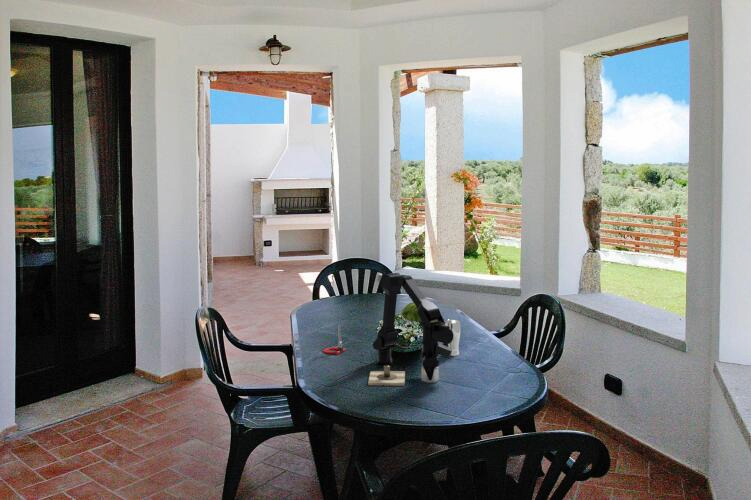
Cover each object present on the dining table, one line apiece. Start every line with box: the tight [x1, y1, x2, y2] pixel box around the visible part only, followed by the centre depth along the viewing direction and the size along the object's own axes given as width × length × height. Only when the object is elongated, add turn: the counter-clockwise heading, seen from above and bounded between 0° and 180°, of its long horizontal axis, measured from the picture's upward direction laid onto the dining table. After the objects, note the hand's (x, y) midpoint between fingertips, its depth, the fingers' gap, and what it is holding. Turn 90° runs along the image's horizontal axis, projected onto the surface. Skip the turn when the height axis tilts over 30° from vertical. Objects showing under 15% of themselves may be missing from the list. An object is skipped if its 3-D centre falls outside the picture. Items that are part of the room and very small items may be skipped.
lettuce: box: [399, 301, 438, 323], centre depth 305 cm, size 18×23×19 cm
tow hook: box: [323, 324, 347, 355], centre depth 278 cm, size 8×13×9 cm
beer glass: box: [444, 319, 461, 357], centre depth 272 cm, size 7×7×15 cm
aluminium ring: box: [420, 365, 440, 384], centre depth 239 cm, size 7×7×5 cm
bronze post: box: [383, 364, 391, 378], centre depth 240 cm, size 2×2×4 cm
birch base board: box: [367, 370, 406, 387], centre depth 241 cm, size 14×14×1 cm
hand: (430, 377), depth 240 cm, fingers closed on aluminium ring, 7 cm apart
